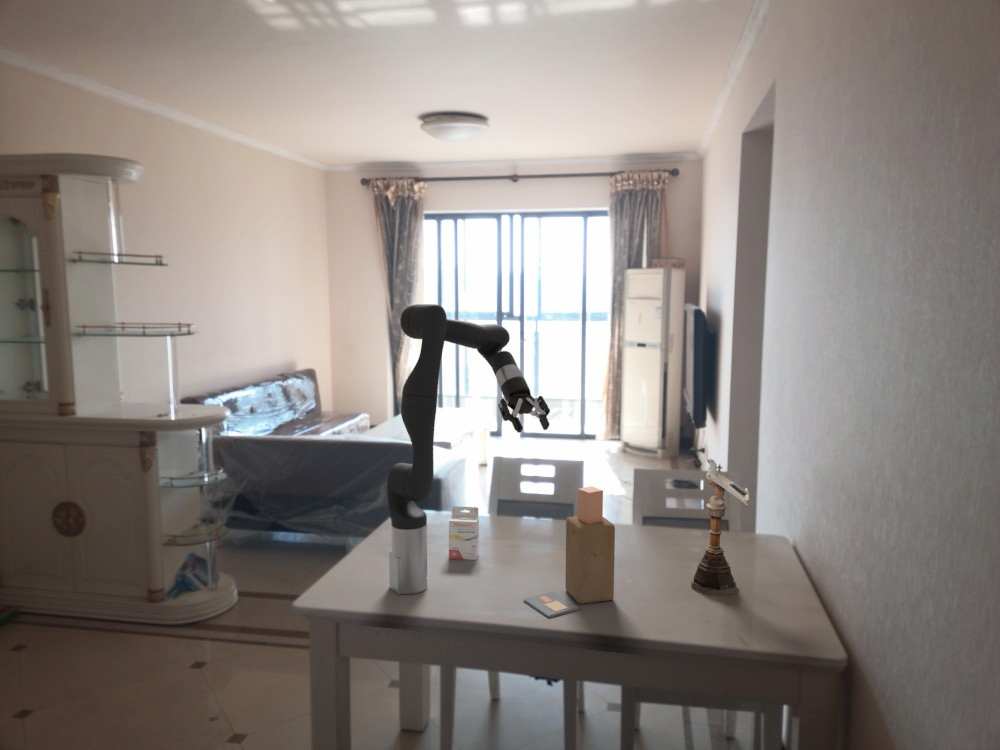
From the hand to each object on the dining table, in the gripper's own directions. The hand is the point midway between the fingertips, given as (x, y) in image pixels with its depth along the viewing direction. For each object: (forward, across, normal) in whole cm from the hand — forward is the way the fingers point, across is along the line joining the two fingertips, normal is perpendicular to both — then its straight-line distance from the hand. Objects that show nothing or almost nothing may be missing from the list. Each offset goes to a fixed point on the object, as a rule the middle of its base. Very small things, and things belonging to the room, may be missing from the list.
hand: (533, 429), depth 192 cm
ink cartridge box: (+14, -11, +44) cm, 47 cm away
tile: (+43, -8, +14) cm, 46 cm away
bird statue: (+53, +38, +5) cm, 65 cm away
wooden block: (+43, +4, +15) cm, 46 cm away
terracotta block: (+29, +4, 0) cm, 29 cm away
